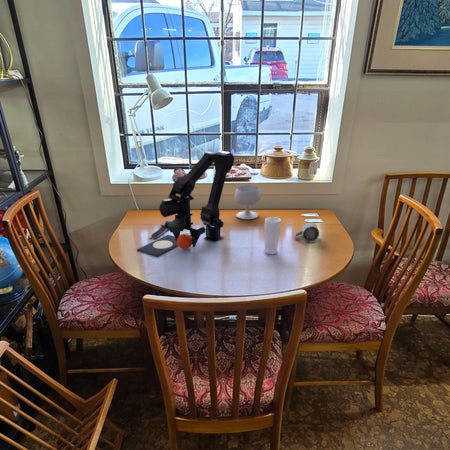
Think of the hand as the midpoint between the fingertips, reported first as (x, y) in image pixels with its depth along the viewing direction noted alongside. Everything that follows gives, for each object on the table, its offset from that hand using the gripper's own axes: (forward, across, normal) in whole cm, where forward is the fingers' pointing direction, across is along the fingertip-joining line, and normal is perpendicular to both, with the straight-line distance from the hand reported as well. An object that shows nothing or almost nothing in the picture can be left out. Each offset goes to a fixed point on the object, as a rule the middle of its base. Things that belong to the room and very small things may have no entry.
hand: (186, 245), depth 166 cm
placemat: (+2, -10, -4) cm, 11 cm away
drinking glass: (+2, +34, +18) cm, 38 cm away
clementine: (+2, 0, 0) cm, 2 cm away
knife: (+2, -22, +10) cm, 25 cm away
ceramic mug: (+2, +40, +40) cm, 57 cm away
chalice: (+2, 0, +51) cm, 51 cm away
